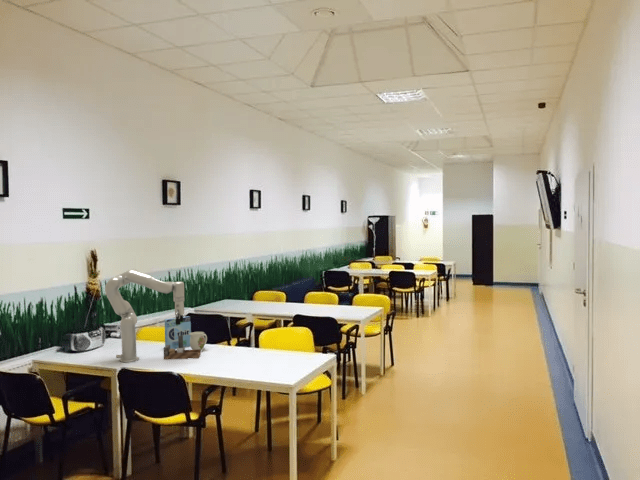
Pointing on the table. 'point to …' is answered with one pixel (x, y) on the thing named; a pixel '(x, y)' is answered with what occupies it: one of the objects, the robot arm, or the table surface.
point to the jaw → (180, 345)
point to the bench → (174, 355)
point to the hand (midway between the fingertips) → (179, 323)
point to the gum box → (177, 332)
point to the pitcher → (197, 340)
